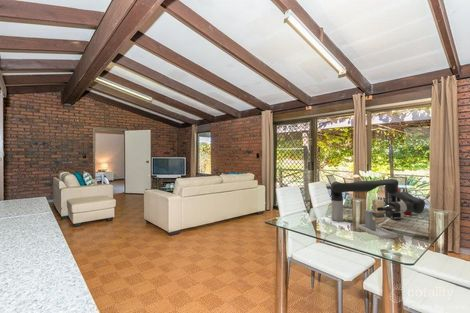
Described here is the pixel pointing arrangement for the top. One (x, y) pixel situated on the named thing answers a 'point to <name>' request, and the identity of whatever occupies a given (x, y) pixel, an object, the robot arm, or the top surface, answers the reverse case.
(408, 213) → the plastic cup
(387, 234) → the parts tray
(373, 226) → the slate box
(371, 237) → the pad
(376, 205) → the banded wooden block
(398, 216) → the graphics card box
